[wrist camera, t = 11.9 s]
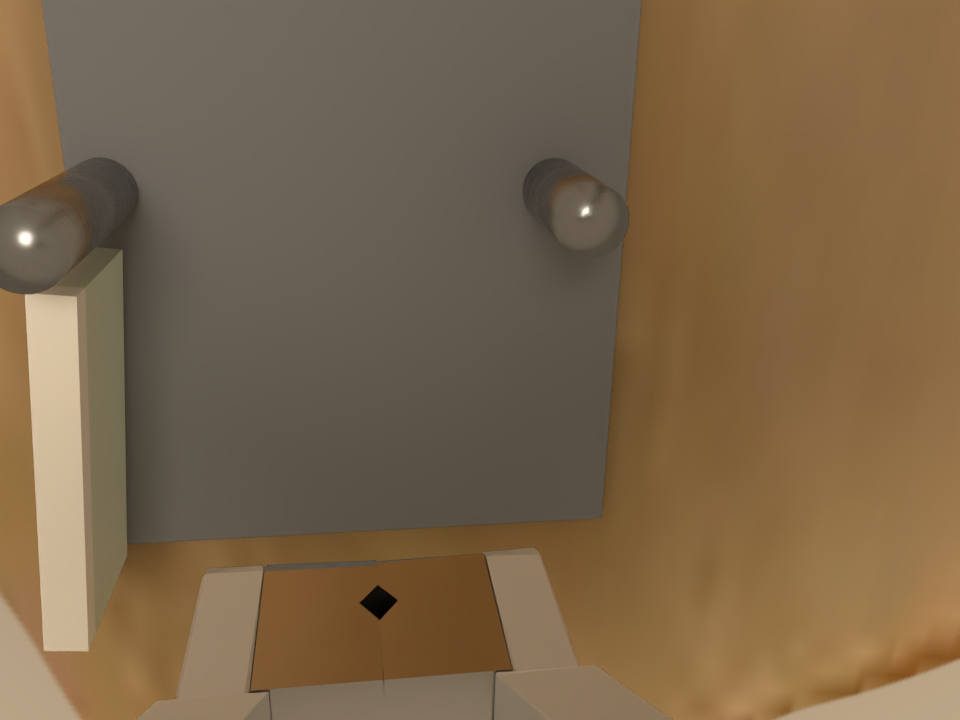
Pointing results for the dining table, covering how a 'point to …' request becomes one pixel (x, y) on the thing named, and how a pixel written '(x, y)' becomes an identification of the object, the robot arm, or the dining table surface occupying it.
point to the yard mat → (353, 255)
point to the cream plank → (79, 445)
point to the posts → (114, 196)
